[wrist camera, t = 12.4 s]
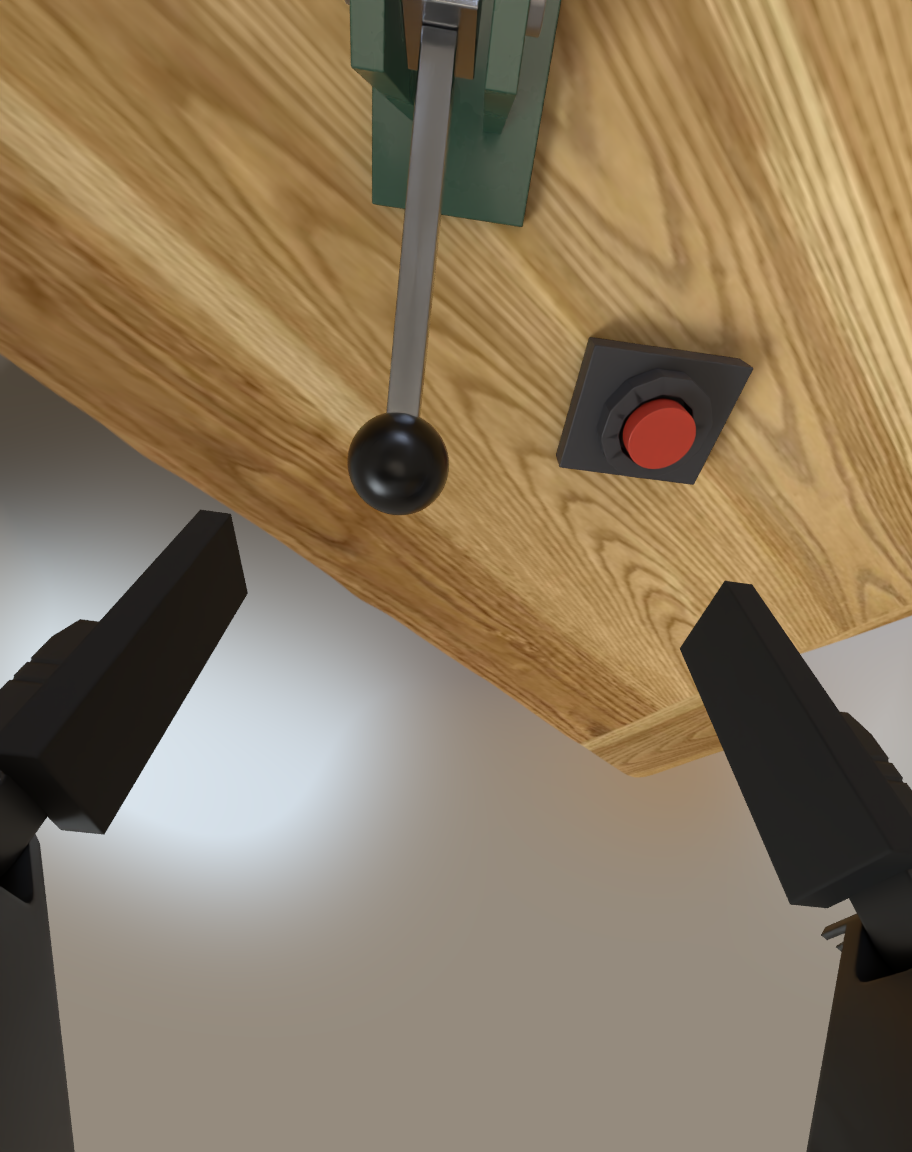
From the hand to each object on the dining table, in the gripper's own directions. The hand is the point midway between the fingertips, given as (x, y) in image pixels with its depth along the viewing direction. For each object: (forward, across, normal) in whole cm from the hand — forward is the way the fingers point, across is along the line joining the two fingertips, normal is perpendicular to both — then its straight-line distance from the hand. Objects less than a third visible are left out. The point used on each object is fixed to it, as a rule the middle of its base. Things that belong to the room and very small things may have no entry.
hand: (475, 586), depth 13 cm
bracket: (+26, -3, +13) cm, 29 cm away
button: (+23, +13, -3) cm, 26 cm away
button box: (+26, +13, -3) cm, 30 cm away
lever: (+10, -3, +6) cm, 12 cm away
